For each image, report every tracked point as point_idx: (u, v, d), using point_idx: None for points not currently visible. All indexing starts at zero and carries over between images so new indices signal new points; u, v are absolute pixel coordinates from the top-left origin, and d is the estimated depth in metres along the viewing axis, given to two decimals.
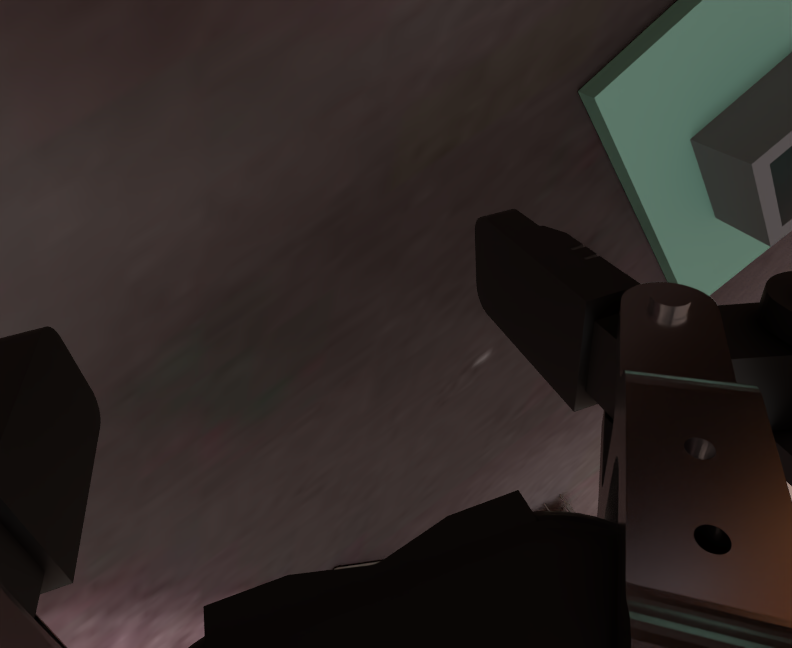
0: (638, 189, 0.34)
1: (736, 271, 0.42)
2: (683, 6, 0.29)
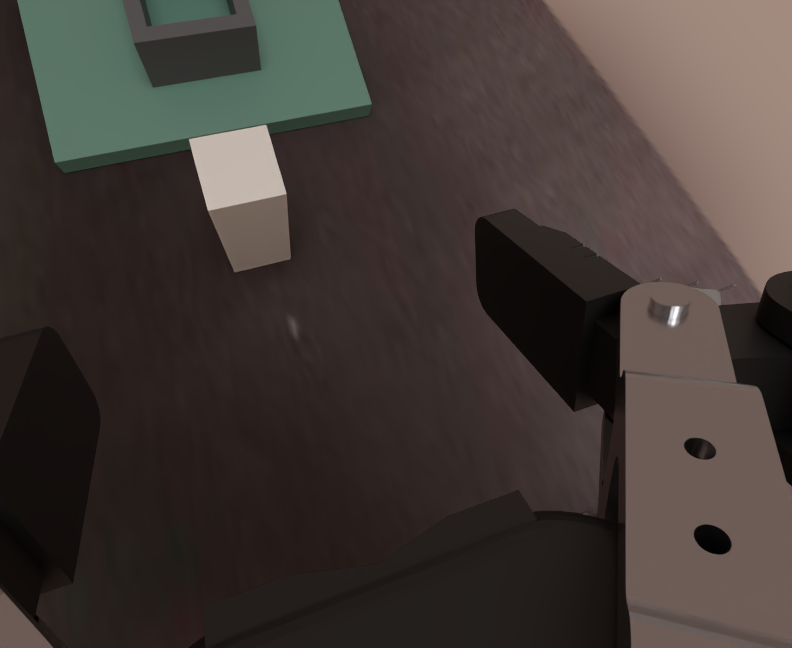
0: (172, 138, 0.37)
1: (351, 52, 0.41)
2: None
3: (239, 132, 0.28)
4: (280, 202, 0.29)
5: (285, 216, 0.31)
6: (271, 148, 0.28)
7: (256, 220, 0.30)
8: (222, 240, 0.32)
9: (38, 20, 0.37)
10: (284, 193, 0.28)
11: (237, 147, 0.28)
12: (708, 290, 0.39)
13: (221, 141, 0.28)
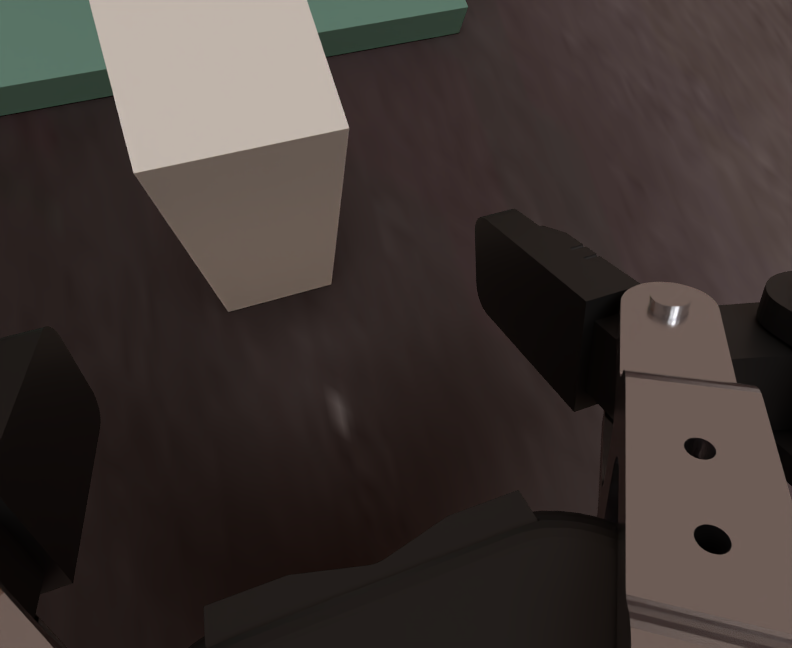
0: None
1: None
2: None
3: None
4: (330, 155, 0.11)
5: (335, 196, 0.13)
6: (306, 12, 0.11)
7: (269, 204, 0.13)
8: (192, 254, 0.14)
9: None
10: (343, 126, 0.10)
11: (217, 7, 0.11)
12: None
13: None
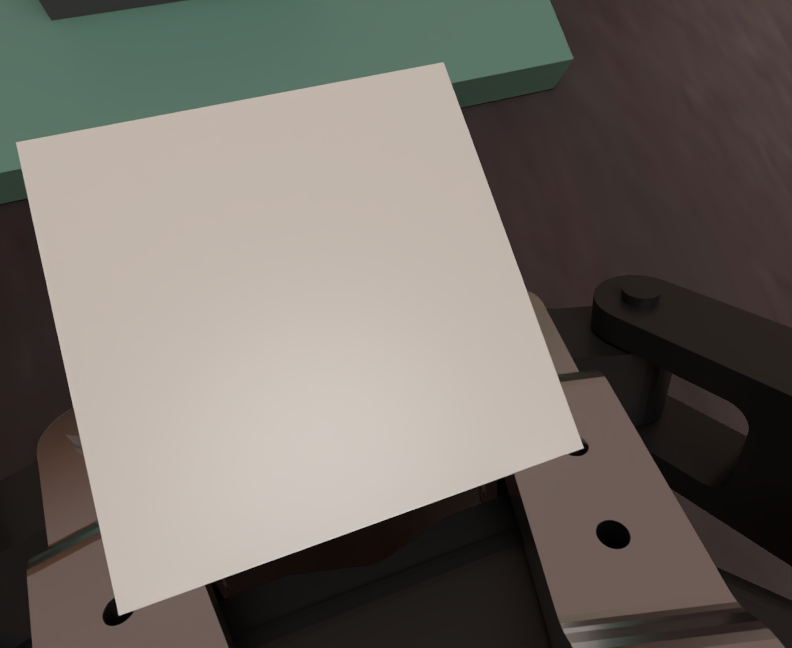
0: None
1: None
2: None
3: (308, 102, 0.05)
4: None
5: None
6: (479, 186, 0.05)
7: None
8: None
9: None
10: (574, 446, 0.05)
11: (299, 185, 0.05)
12: None
13: (207, 152, 0.05)
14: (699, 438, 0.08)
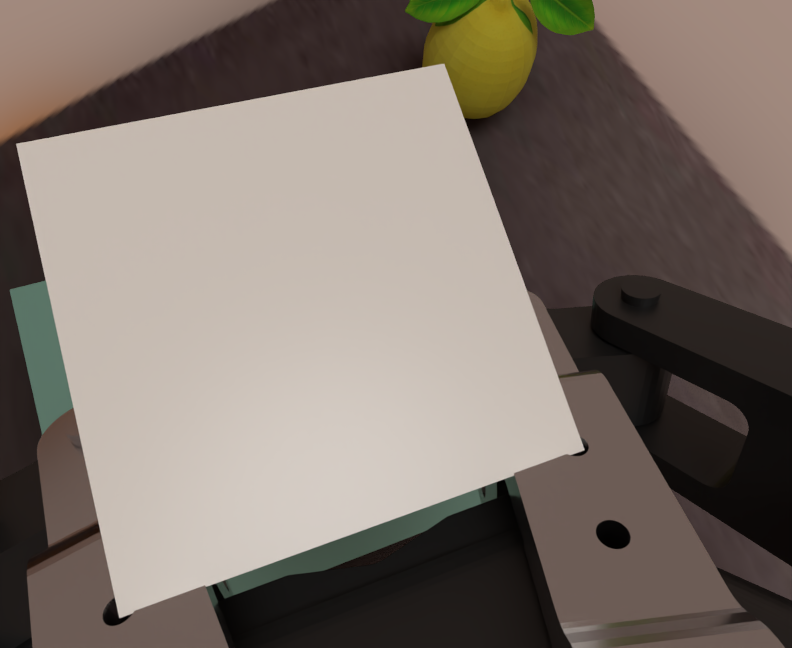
0: None
1: None
2: None
3: (309, 103, 0.05)
4: None
5: None
6: (479, 187, 0.05)
7: None
8: None
9: (60, 398, 0.23)
10: (574, 448, 0.05)
11: (300, 186, 0.05)
12: None
13: (208, 154, 0.05)
14: (699, 438, 0.08)
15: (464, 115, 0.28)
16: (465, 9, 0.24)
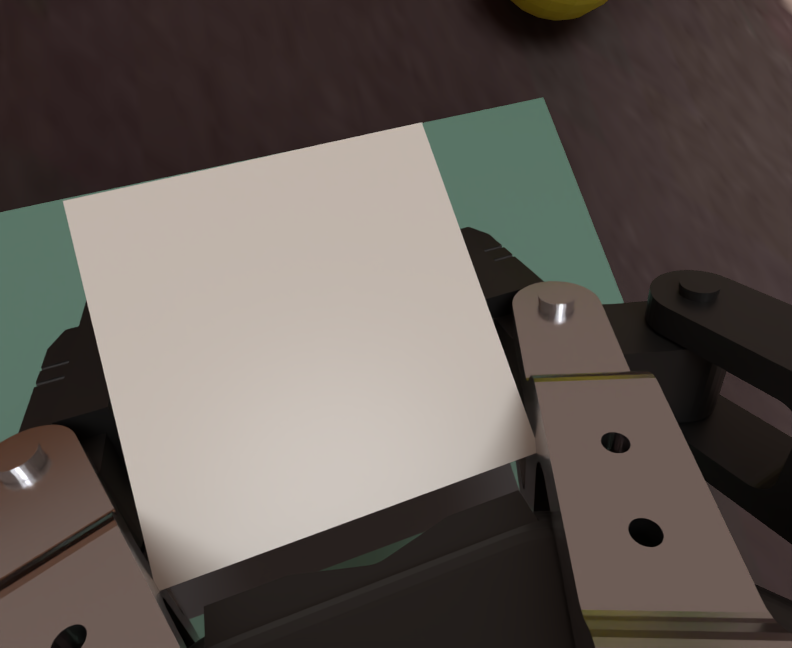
0: None
1: None
2: None
3: (306, 160, 0.06)
4: None
5: None
6: (452, 229, 0.06)
7: None
8: None
9: None
10: (531, 450, 0.06)
11: (300, 232, 0.06)
12: None
13: (222, 206, 0.06)
14: (749, 440, 0.08)
15: (549, 10, 0.20)
16: None
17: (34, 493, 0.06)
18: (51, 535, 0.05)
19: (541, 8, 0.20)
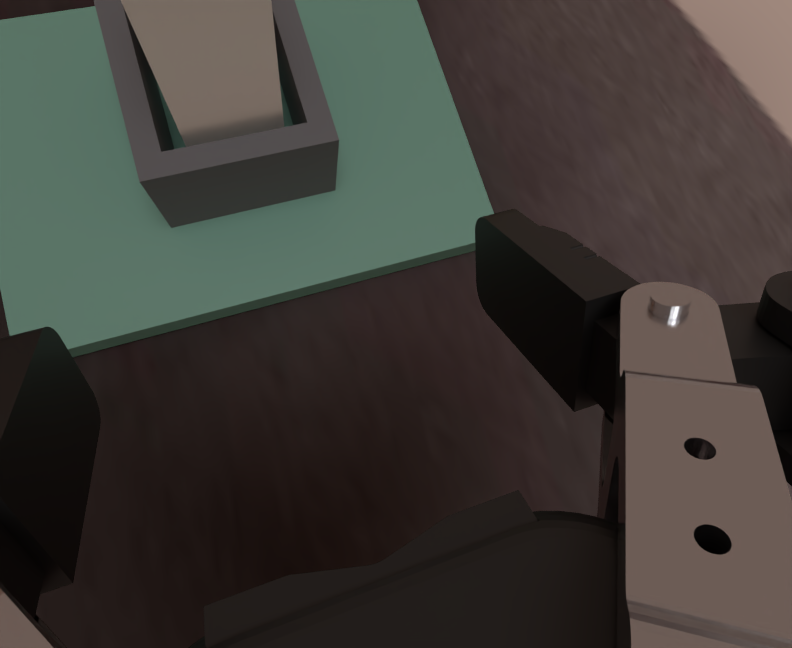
0: (202, 310, 0.24)
1: (467, 155, 0.27)
2: None
3: None
4: None
5: (271, 46, 0.18)
6: None
7: (220, 47, 0.17)
8: (166, 96, 0.18)
9: None
10: None
11: None
12: None
13: None
14: None
15: None
16: None
17: None
18: None
19: None
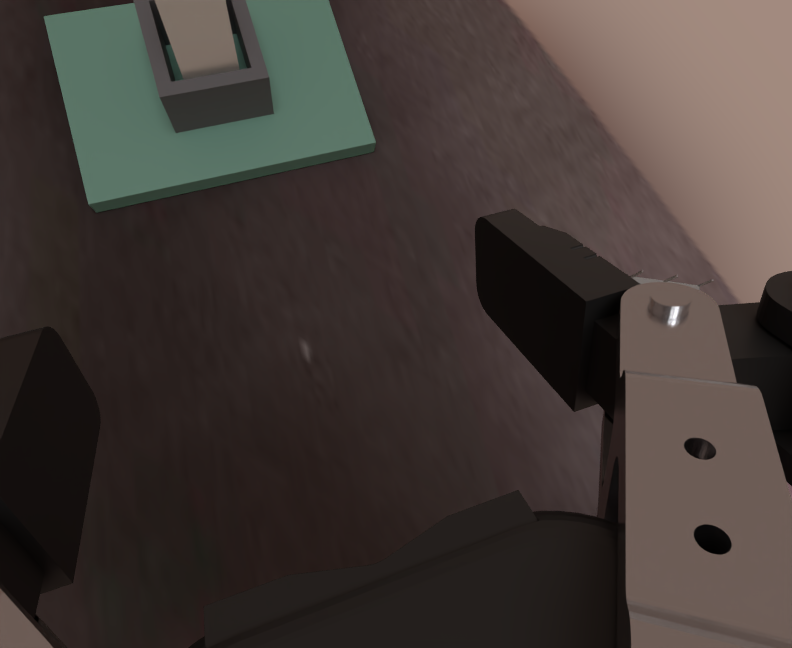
0: (194, 179, 0.41)
1: (356, 94, 0.44)
2: None
3: None
4: None
5: (227, 23, 0.35)
6: None
7: (201, 23, 0.34)
8: (174, 49, 0.36)
9: (72, 74, 0.41)
10: None
11: None
12: (688, 285, 0.42)
13: None
14: None
15: None
16: None
17: None
18: None
19: None
